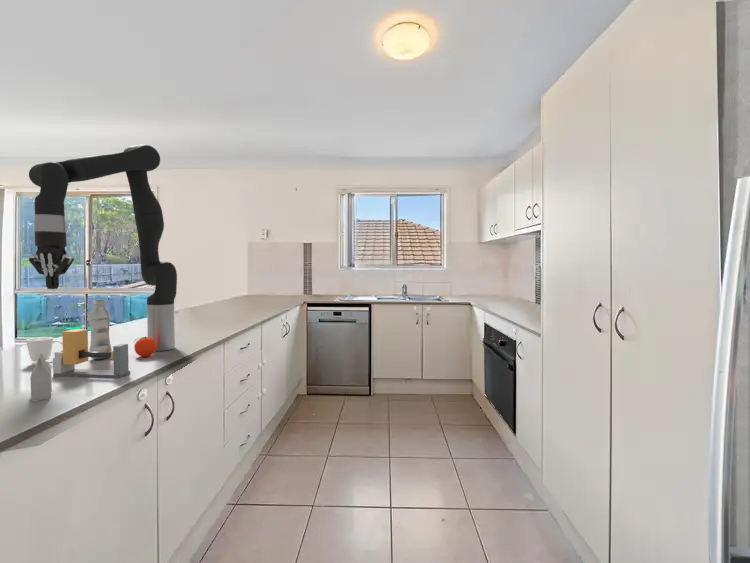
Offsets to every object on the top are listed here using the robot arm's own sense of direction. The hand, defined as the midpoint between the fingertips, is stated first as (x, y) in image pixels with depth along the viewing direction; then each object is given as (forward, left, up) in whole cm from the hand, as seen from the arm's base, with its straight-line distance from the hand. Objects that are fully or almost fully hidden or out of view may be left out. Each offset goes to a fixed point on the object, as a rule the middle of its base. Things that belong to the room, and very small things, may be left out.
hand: (52, 288), depth 125 cm
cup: (-14, -4, -25) cm, 29 cm away
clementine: (-9, +24, -25) cm, 36 cm away
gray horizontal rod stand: (+10, +10, -25) cm, 29 cm away
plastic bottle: (-12, +11, -25) cm, 30 cm away
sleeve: (+7, +6, -21) cm, 23 cm away
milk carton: (+27, +1, -25) cm, 37 cm away
